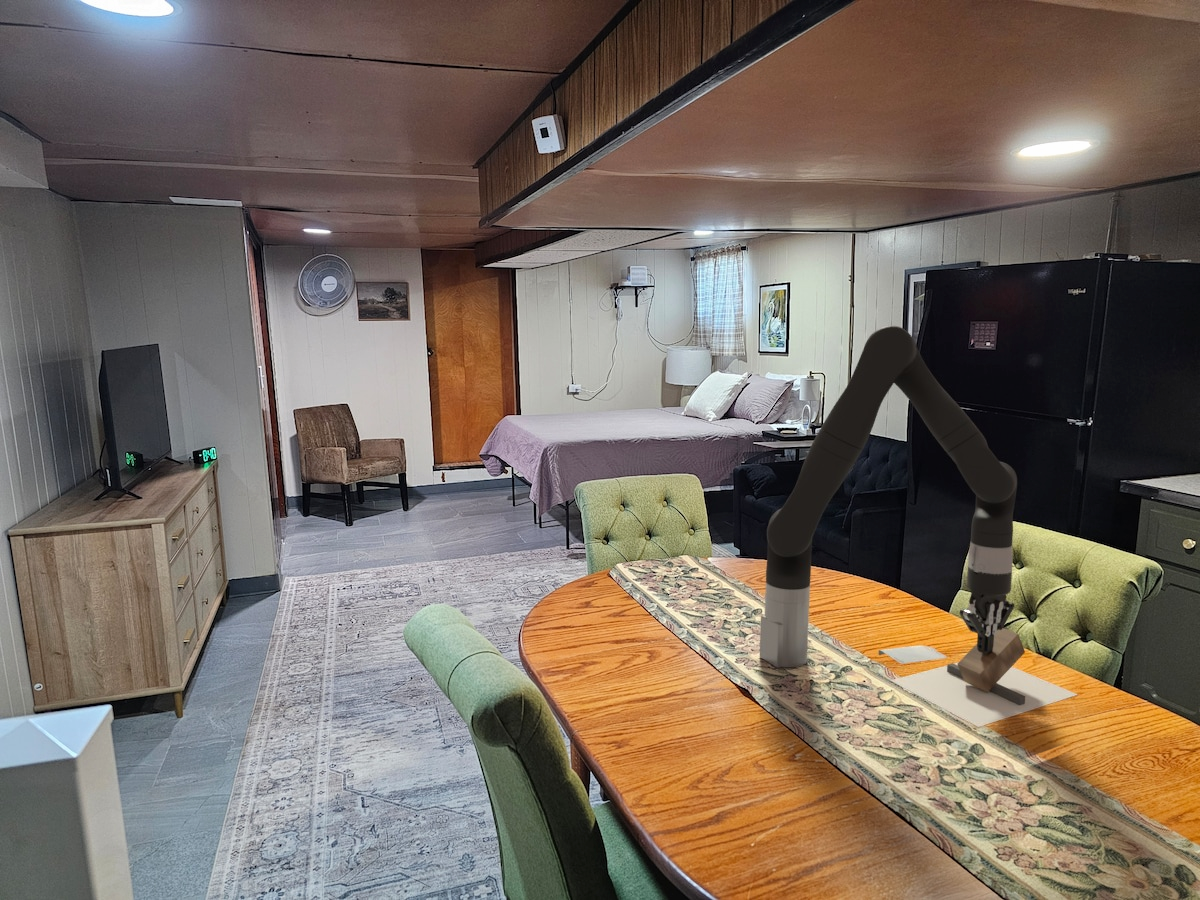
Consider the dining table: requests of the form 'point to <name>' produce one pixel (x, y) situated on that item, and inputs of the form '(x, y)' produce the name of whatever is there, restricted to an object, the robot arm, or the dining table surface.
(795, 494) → the robot arm
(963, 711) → the grey board
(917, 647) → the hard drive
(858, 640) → the dining table surface
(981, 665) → the walnut block
